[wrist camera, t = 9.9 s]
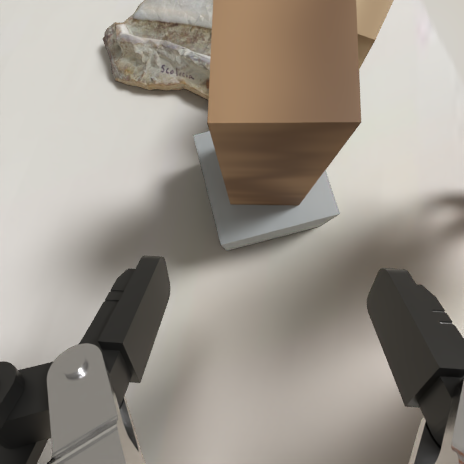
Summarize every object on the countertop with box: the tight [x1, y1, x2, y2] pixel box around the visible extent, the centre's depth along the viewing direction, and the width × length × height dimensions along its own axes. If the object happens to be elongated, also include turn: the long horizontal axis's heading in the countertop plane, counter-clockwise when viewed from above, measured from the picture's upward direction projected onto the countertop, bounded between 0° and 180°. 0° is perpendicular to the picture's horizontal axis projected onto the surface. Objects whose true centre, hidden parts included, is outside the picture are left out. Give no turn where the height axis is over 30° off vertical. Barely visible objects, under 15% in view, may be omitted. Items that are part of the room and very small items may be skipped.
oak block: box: [356, 0, 393, 69], centre depth 19 cm, size 4×4×10 cm
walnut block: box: [207, 0, 361, 205], centre depth 13 cm, size 4×4×10 cm
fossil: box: [103, 0, 213, 100], centre depth 24 cm, size 18×10×3 cm, turn 74°
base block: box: [193, 131, 340, 251], centre depth 21 cm, size 8×8×5 cm
